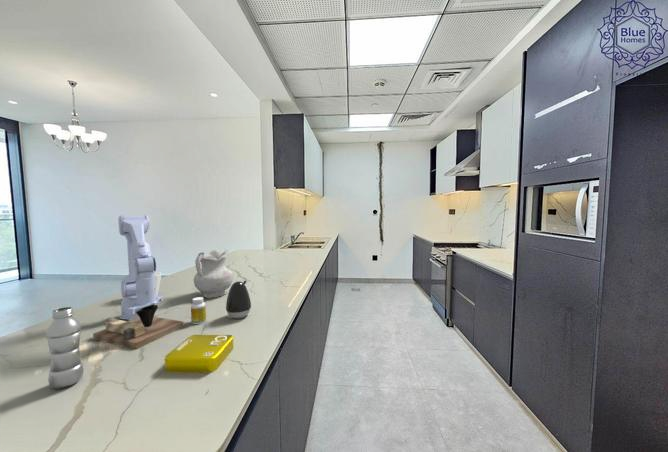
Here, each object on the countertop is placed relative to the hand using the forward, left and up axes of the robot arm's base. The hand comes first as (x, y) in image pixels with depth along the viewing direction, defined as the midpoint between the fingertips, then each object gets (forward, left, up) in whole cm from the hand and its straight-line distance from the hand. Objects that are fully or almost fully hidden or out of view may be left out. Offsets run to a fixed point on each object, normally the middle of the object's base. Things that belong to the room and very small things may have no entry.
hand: (147, 326), depth 98 cm
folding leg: (-6, -5, -1) cm, 7 cm away
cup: (-41, +31, -3) cm, 51 cm away
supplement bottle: (+9, +15, -3) cm, 18 cm away
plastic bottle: (+8, -27, -3) cm, 29 cm away
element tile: (+32, -6, -4) cm, 33 cm away
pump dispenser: (+21, +25, -3) cm, 33 cm away
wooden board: (-4, 0, -3) cm, 5 cm away
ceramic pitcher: (-12, +45, -3) cm, 46 cm away
